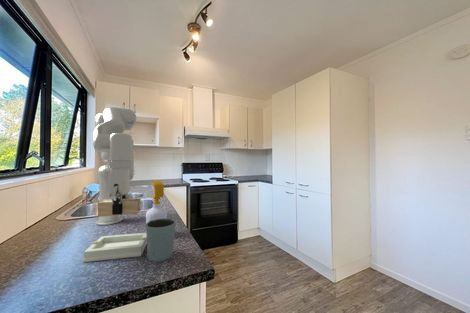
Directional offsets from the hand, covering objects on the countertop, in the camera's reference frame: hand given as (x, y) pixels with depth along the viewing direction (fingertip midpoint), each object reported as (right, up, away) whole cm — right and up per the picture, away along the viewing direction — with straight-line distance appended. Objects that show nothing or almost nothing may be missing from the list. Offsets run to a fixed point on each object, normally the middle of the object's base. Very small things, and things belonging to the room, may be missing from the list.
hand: (120, 211), depth 76 cm
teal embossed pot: (+18, -15, -5) cm, 24 cm away
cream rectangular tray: (0, -15, 0) cm, 15 cm away
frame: (0, -1, 0) cm, 1 cm away
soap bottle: (+8, -15, +15) cm, 23 cm away
